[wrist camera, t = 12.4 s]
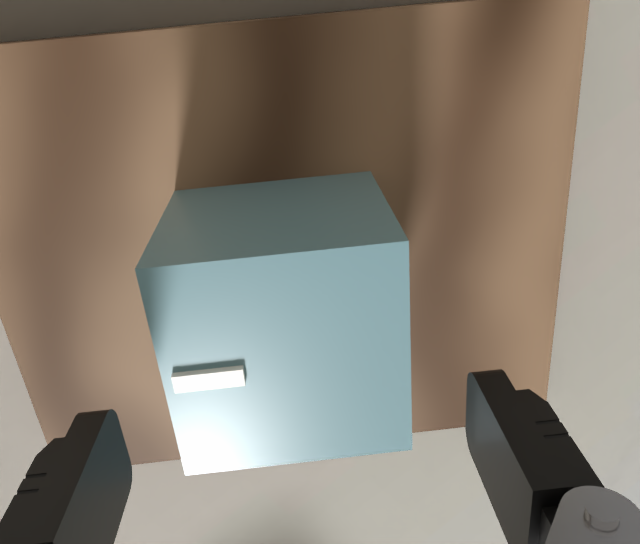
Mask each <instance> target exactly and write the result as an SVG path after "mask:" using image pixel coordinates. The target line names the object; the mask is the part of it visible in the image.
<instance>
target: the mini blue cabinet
mask: <svg viewBox="0 0 640 544" xmlns="http://www.w3.org/2000/svg"><path fill="white" fill-rule="evenodd" d="M135 272H136V277H137V281H138V285H139V289H140V293H141V297H142V301H143V305H144V309H145V313H146V317H147V322H148V326H149V330H150V334H151V338H152V342H153V346H154V350H155V354H156V358H157V362H158V367H159V371H160V375H161V379H162V383H163V387H164V391H165V395H166V399H167V403H168V407H169V412H170V416H171V420H172V424H173V428H174V432H175V436H176V440H177V444H178V448H179V452H180V457H181V461H182V465H183V469H184V473H185V476H188V475H197V474H205V473H214V472H223V471H231V470H240V469H249V468H258V467H266V466H275V465H284V464H292V463H301V462H310V461H318V460H327V459H336V458H345V457H353V456H362V455H371V454H379V453H388V452H397V451H406V450H412V399H411V338H410V277H409V240H408V238H407V236H406V235H405V233H404V231H403V229H402V227H401V226H400V224H399V222H398V220H397V218H396V217H395V215H394V213H393V211H392V209H391V207H390V206H389V204H388V202H387V200H386V198H385V197H384V195H383V193H382V191H381V189H380V188H379V186H378V184H377V182H376V180H375V178H374V177H373V175H372V173H371V171H367V172H357V173H347V174H337V175H327V176H317V177H307V178H297V179H287V180H277V181H267V182H257V183H247V184H237V185H227V186H217V187H207V188H197V189H187V190H177V191H174V193H173V195H172V197H171V199H170V201H169V203H168V205H167V207H166V209H165V211H164V213H163V215H162V217H161V219H160V221H159V223H158V225H157V226H156V228H155V230H154V232H153V234H152V236H151V238H150V240H149V242H148V244H147V246H146V248H145V250H144V252H143V254H142V256H141V258H140V260H139V262H138V264H137V266H136V268H135Z"/></svg>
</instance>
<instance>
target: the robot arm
mask: <svg viewBox="0 0 640 544" xmlns="http://www.w3.org/2000/svg"><path fill="white" fill-rule="evenodd" d="M466 437H467V442H468V447H469V450H470V453H471V456H472V458H473V461H474V463H475V465H476V468H477V470H478V473H479V475H480V477H481V480H482V482H483V485H484V487H485V489H486V492H487V494H488V497H489V499H490V501H491V504H492V506H493V509H494V511H495V513H496V516H497V518H498V520H499V523H500V525H501V528H502V530H503V532H504V535H505V537H506V540H507V542H508V544H640V510H639V509H638V508H637V506H636V505H635V504H634V503H632V502H631V501H630V500H629V499H627V498H626V497H624V496H623V495H621V494H619V493H617V492H615V491H612V490H610V489H607V488H605V487H604V486H603V484H602V483H601V481H600V480H599V478H598V477H597V475H596V474H595V472H594V471H593V469H592V468H591V466H590V465H589V463H588V462H587V460H586V459H585V457H584V456H583V454H582V453H581V451H580V450H579V448H578V447H577V445H576V444H575V442H574V441H573V439H572V438H571V436H569V435H568V432H567V430H566V429H565V427H564V426H563V424H562V423H561V422H559V418H558V417H557V415H556V414H555V412H554V411H553V409H552V408H551V406H550V405H549V403H548V402H547V401H545V400H544V399H543V398H541V397H540V396H538V395H537V394H536V393H534V392H533V391H531V390H530V389H523V390H515V388H514V386H513V385H512V383H511V381H510V380H509V378H508V376H507V375H506V373H505V372H504V371H503V370H502V369H497V370H488V371H478V372H469V373H468V376H467V393H466ZM131 483H132V466H131V460H130V457H129V453H128V450H127V446H126V443H125V440H124V436H123V433H122V429H121V426H120V422H119V419H118V416H117V414H116V412H115V411H114V410H113V409H109V410H99V411H90V412H80V413H78V414H77V415H76V416H75V418H74V420H73V422H72V424H71V426H70V428H69V430H68V432H67V434H66V436H65V437H62V438H54V439H53V440H52V441H51V442H50V443H49V444H48V445H47V446H46V447H45V448H44V449H43V450H42V451H41V452H39V453H38V454H37V455H36V457H35V458H34V460H33V462H32V464H31V466H30V468H29V470H28V471H27V473H26V478H25V479H23V481H22V483H21V484H20V486H19V488H18V490H17V495H15V496H14V497H13V499H12V501H11V503H10V505H9V507H8V509H7V510H6V512H5V514H4V516H3V518H2V520H1V522H0V544H114V541H115V538H116V535H117V531H118V528H119V525H120V522H121V518H122V515H123V512H124V509H125V505H126V502H127V499H128V496H129V492H130V489H131Z"/></svg>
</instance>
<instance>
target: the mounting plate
mask: <svg viewBox="0 0 640 544" xmlns="http://www.w3.org/2000/svg"><path fill="white" fill-rule="evenodd" d="M589 3H590V0H457V1H446V2H435V3H425V4H414V5H403V6H392V7H381V8H370V9H360V10H349V11H338V12H327V13H316V14H305V15H295V16H284V17H273V18H262V19H251V20H240V21H230V22H219V23H208V24H197V25H186V26H175V27H165V28H154V29H143V30H132V31H121V32H110V33H100V34H89V35H78V36H67V37H56V38H45V39H35V40H24V41H13V42H2V43H0V318H1V320H2V323H3V326H4V328H5V331H6V334H7V336H8V339H9V342H10V345H11V347H12V350H13V353H14V355H15V358H16V361H17V363H18V366H19V369H20V372H21V374H22V377H23V380H24V382H25V385H26V388H27V390H28V393H29V396H30V398H31V401H32V404H33V407H34V409H35V412H36V415H37V417H38V420H39V423H40V425H41V428H42V431H43V433H44V436H45V439H46V442H47V444H49V443H50V442H51V441H52V440H53V439H54V438H62V437H65V436H66V434H67V432H68V430H69V428H70V426H71V424H72V422H73V420H74V418H75V416H76V415H77V414H78V413H80V412H90V411H99V410H109V409H113V410H114V411H115V412H116V414H117V416H118V419H119V422H120V426H121V429H122V433H123V436H124V440H125V443H126V446H127V450H128V453H129V457H130V460H131V465H135V464H143V463H152V462H161V461H170V460H178V459H181V457H180V452H179V448H178V444H177V440H176V436H175V432H174V428H173V424H172V420H171V416H170V412H169V407H168V403H167V399H166V395H165V391H164V387H163V383H162V379H161V375H160V371H159V367H158V362H157V358H156V354H155V350H154V346H153V342H152V338H151V334H150V330H149V326H148V322H147V317H146V313H145V309H144V305H143V301H142V297H141V293H140V289H139V285H138V281H137V277H136V272H135V268H136V266H137V264H138V262H139V260H140V258H141V256H142V254H143V252H144V250H145V248H146V246H147V244H148V242H149V240H150V238H151V236H152V234H153V232H154V230H155V228H156V226H157V225H158V223H159V221H160V219H161V217H162V215H163V213H164V211H165V209H166V207H167V205H168V203H169V201H170V199H171V197H172V195H173V193H174V191H177V190H187V189H197V188H207V187H217V186H227V185H237V184H247V183H257V182H267V181H277V180H287V179H297V178H307V177H317V176H327V175H337V174H347V173H357V172H367V171H371V173H372V175H373V177H374V178H375V180H376V182H377V184H378V186H379V188H380V189H381V191H382V193H383V195H384V197H385V198H386V200H387V202H388V204H389V206H390V207H391V209H392V211H393V213H394V215H395V217H396V218H397V220H398V222H399V224H400V226H401V227H402V229H403V231H404V233H405V235H406V236H407V238H408V240H409V277H410V338H411V399H412V433H415V432H423V431H432V430H441V429H450V428H458V427H466V393H467V376H468V373H469V372H478V371H488V370H497V369H502V370H503V371H504V372H505V373H506V375H507V376H508V378H509V380H510V381H511V383H512V385H513V386H514V388H515V390H523V389H530V390H531V391H533V392H534V393H536V394H537V395H538V396H540V397H541V398H543V399H544V400H545V401H546V398H547V389H548V380H549V371H550V362H551V352H552V343H553V334H554V325H555V316H556V306H557V297H558V288H559V279H560V270H561V260H562V251H563V242H564V233H565V224H566V214H567V205H568V196H569V187H570V178H571V168H572V159H573V150H574V141H575V132H576V122H577V113H578V104H579V95H580V86H581V76H582V67H583V58H584V49H585V40H586V30H587V21H588V12H589Z"/></svg>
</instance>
